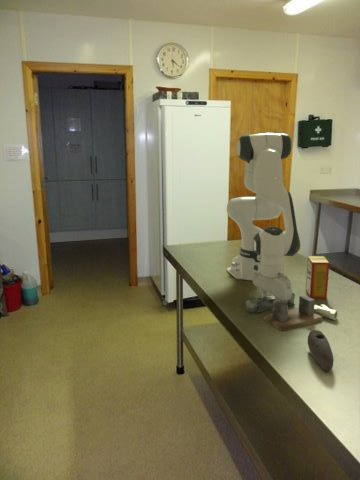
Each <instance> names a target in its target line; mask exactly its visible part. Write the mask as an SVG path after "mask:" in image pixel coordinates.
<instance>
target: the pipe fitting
mask: <svg viewBox="0 0 360 480" xmlns="http://www.w3.org/2000/svg"><path fill="white" fill-rule="evenodd" d="M314 313H316V314H318V315H320V316H322V318H326V319H330V320H332V321H336V319H337V317H338V310H336V309H333V308H330V307H328V306H327V305H326V304H324V303H322V304H320V305H317V304H314Z"/></svg>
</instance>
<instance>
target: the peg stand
mask: <svg viewBox="0 0 360 480" xmlns="http://www.w3.org/2000/svg"><path fill="white" fill-rule="evenodd" d="M315 300H316V299H312V298H310V297H309V296H308V295H305V294H303V295H299V300H298V307H296V308H292V309H289V305H285V304H284V303H282V302H280V301H276V302H273V309H272V313H270V314H266V315H264V316H263V320H264V321H265V322H267V323H268V324H270V325H272V326H273V327H274V328H277V330H280V331H281V332H283V331H288V330H292V329H296V328H299V327H303V326H307V325H311V324H315V323H318V322H322V321H323V316H320V315H318V314H316V313H314V305H315Z"/></svg>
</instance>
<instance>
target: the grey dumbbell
mask: <svg viewBox="0 0 360 480" xmlns="http://www.w3.org/2000/svg"><path fill="white" fill-rule="evenodd" d="M295 296H296V294H295V293H294V292H292V298H291V299H290V300H287V301H282V300H280V302H282V303H284V304H285V305H287V306H294V305H295ZM273 301H275V296H273V295H268V297H263V296H262V297H259V298H255V299H247V300H246V302H245V312H246V313H247V314H250V315H256V314H257V313H260V312H264V311H268V310H273Z"/></svg>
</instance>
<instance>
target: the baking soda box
mask: <svg viewBox="0 0 360 480" xmlns="http://www.w3.org/2000/svg"><path fill="white" fill-rule="evenodd" d="M306 262H307V265H306V279H305V280H306V281H305V282H306V283H305V292H306V294H307V296H308V297H310V298H312V299H314V300H327V298H328V287H329V286H328V283H329V272H330V262H329V261H328V260H327V258H326V257H325V256H323V255H308V256H307V261H306Z"/></svg>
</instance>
